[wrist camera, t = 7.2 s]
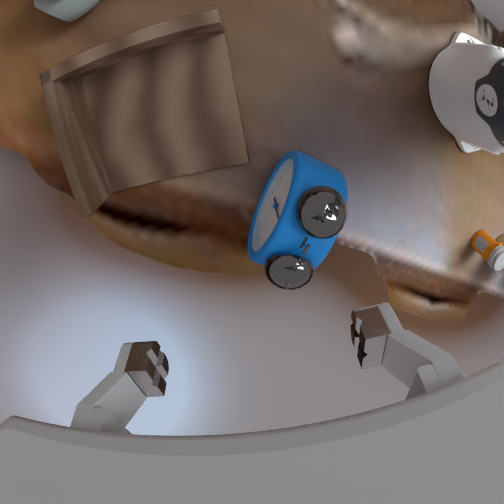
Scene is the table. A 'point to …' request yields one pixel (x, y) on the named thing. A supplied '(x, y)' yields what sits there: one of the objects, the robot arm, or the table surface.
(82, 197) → the shelf bay
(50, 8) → the air freshener
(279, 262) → the alarm clock
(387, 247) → the table surface
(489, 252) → the toiletry set
